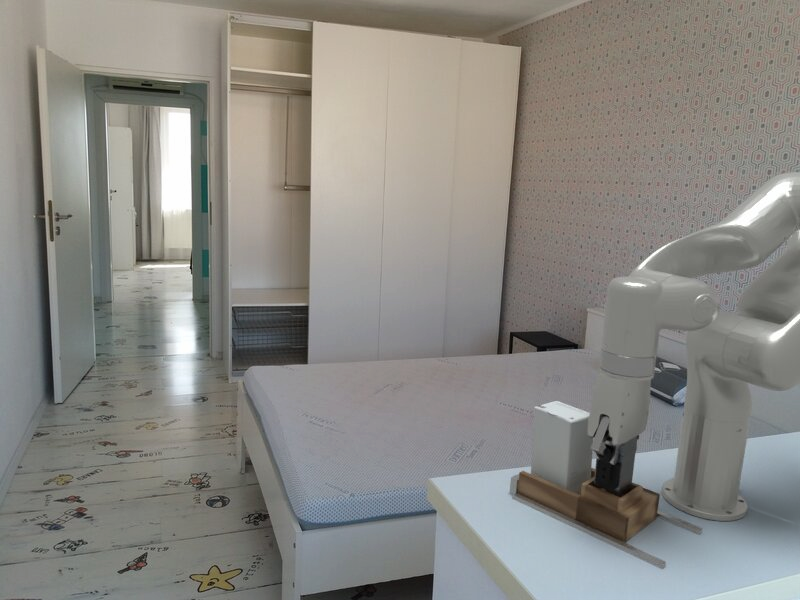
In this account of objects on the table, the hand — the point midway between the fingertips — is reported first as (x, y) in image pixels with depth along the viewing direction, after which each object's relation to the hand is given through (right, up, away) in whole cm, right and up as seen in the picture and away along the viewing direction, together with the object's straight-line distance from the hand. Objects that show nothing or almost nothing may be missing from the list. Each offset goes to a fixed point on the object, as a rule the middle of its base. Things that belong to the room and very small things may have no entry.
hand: (613, 480), depth 95 cm
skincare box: (-6, -5, +9) cm, 12 cm away
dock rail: (-1, -6, +4) cm, 8 cm away
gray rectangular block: (0, -1, 0) cm, 1 cm away
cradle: (-3, -6, +6) cm, 9 cm away
